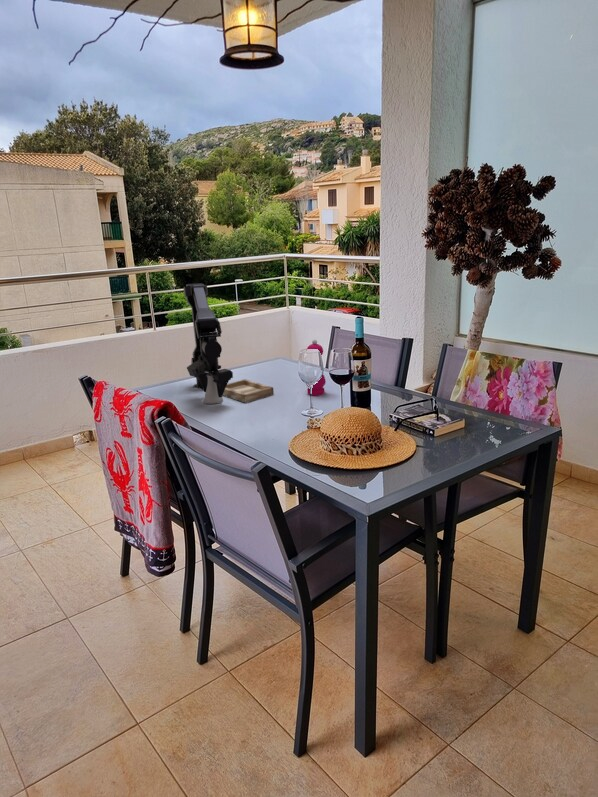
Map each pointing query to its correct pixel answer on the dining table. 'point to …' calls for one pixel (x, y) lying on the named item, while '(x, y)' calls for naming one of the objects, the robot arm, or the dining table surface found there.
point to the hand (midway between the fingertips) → (212, 394)
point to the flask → (211, 392)
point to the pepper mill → (318, 386)
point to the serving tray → (247, 391)
